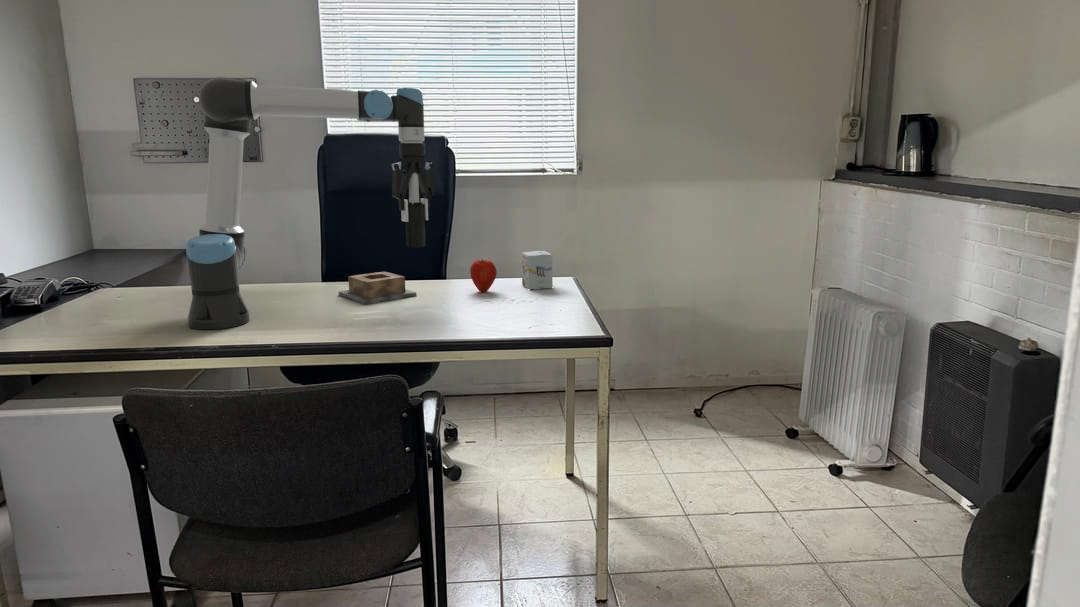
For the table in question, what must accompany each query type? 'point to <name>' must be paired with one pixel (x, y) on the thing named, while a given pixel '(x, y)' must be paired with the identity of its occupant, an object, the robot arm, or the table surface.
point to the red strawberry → (483, 274)
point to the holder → (376, 287)
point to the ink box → (537, 269)
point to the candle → (415, 216)
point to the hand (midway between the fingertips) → (415, 220)
